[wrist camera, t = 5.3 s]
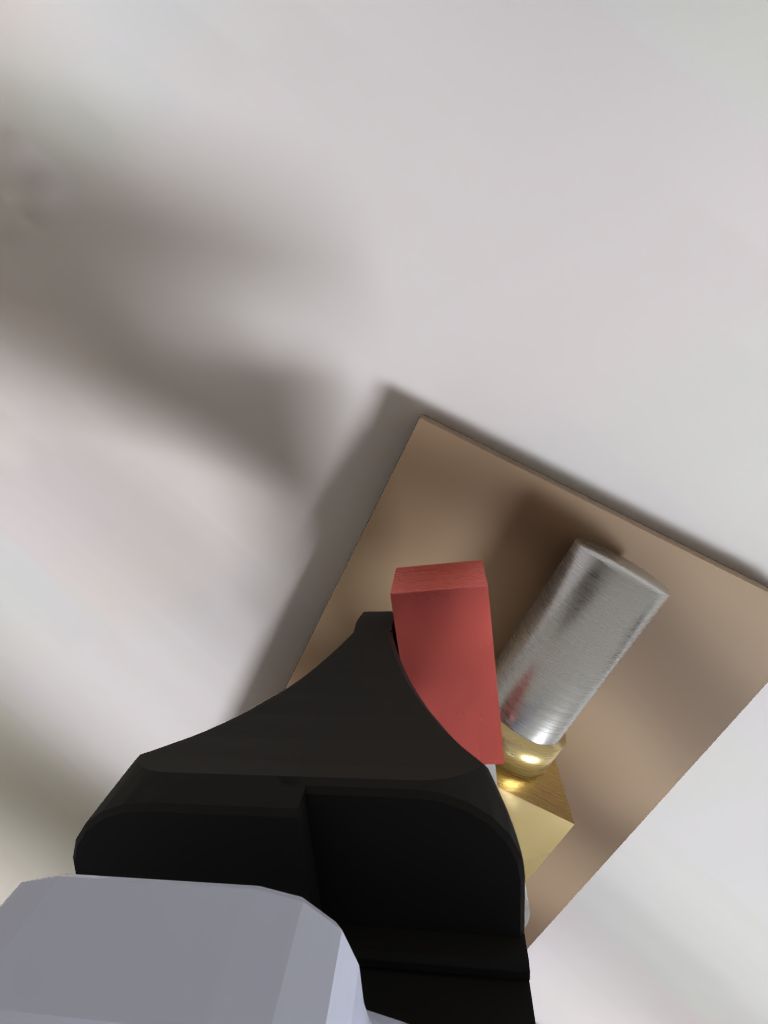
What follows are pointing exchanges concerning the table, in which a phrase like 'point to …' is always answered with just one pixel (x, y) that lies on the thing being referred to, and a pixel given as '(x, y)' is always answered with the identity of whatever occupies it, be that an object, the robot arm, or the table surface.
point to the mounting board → (513, 590)
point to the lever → (452, 653)
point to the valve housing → (562, 680)
